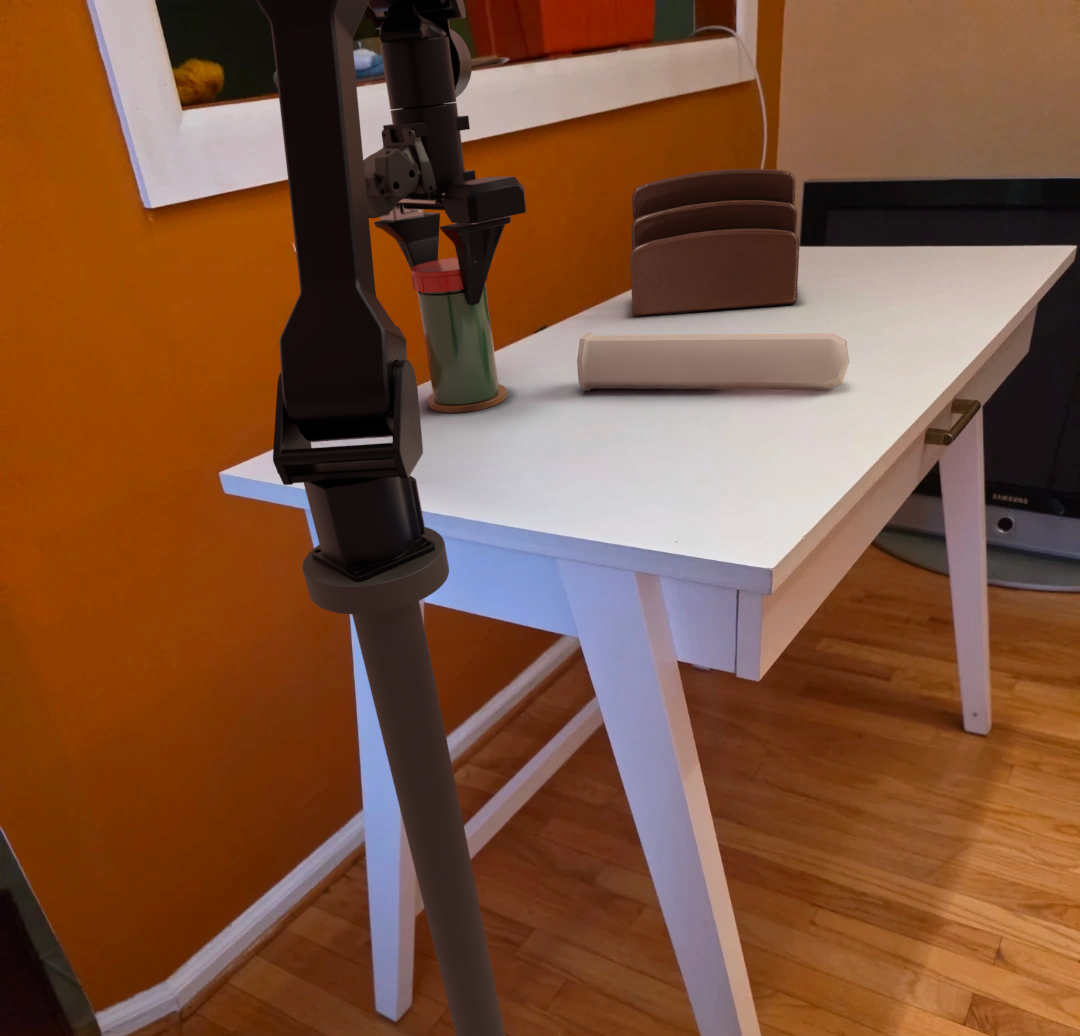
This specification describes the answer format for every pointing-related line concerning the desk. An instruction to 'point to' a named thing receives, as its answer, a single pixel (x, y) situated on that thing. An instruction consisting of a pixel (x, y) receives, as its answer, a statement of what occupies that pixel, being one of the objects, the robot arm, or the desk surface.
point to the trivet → (469, 407)
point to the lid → (437, 276)
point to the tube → (713, 361)
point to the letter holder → (714, 242)
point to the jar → (458, 347)
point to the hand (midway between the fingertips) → (450, 301)
